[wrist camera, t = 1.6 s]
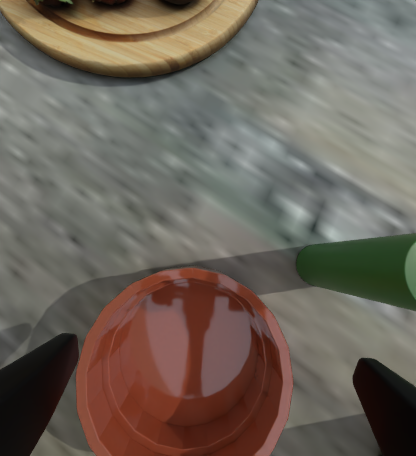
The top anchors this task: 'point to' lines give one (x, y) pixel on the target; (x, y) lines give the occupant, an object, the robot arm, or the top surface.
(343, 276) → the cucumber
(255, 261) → the top surface
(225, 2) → the wooden plate
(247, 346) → the pot
